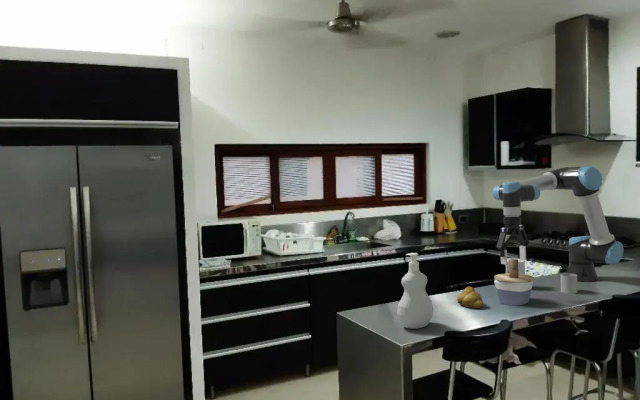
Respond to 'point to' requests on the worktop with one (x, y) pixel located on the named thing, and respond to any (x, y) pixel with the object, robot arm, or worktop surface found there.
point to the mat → (560, 298)
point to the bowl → (513, 292)
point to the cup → (569, 283)
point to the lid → (514, 274)
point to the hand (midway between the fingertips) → (513, 262)
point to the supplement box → (520, 266)
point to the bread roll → (470, 298)
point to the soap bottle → (414, 298)
